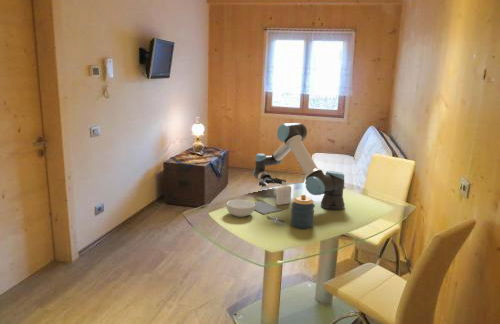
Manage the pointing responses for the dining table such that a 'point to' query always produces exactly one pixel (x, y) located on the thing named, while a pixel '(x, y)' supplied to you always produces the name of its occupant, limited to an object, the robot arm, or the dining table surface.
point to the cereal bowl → (240, 207)
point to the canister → (302, 212)
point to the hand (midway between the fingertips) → (277, 186)
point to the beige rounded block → (283, 195)
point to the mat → (265, 207)
